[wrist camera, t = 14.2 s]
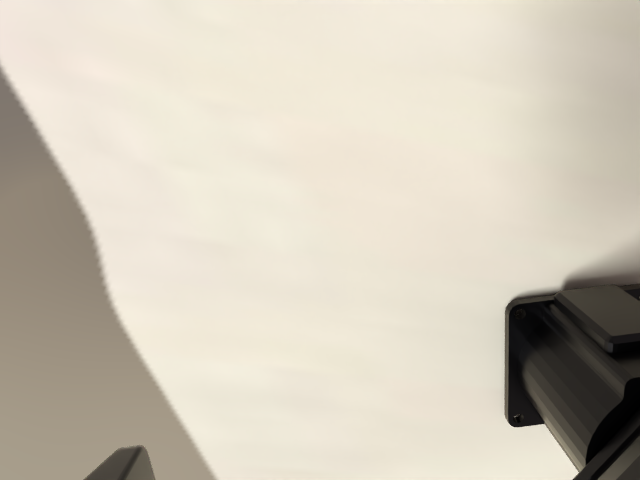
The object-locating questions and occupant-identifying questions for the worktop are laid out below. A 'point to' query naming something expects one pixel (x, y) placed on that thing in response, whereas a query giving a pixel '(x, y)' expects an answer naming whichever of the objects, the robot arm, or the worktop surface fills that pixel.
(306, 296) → the worktop surface
